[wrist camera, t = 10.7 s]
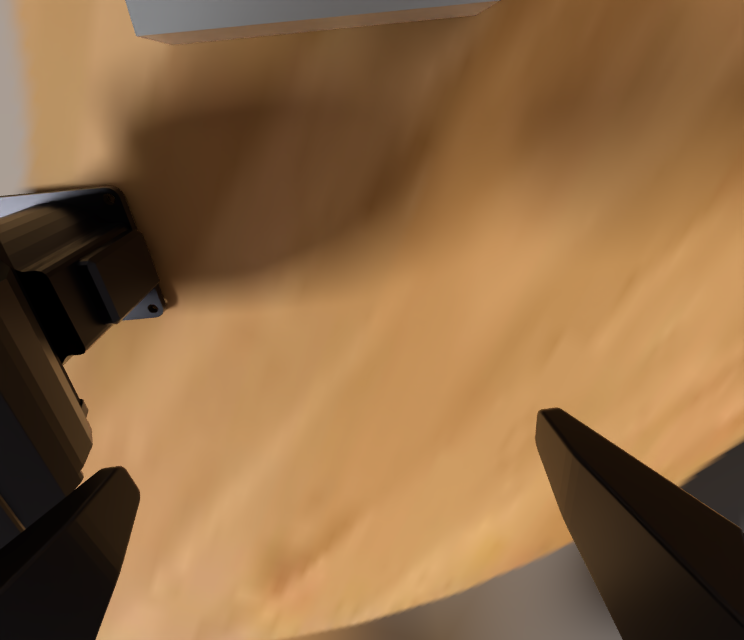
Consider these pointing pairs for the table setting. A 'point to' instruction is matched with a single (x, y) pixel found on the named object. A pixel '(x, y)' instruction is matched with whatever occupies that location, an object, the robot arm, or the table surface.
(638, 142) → the table surface
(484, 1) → the ceramic holder
